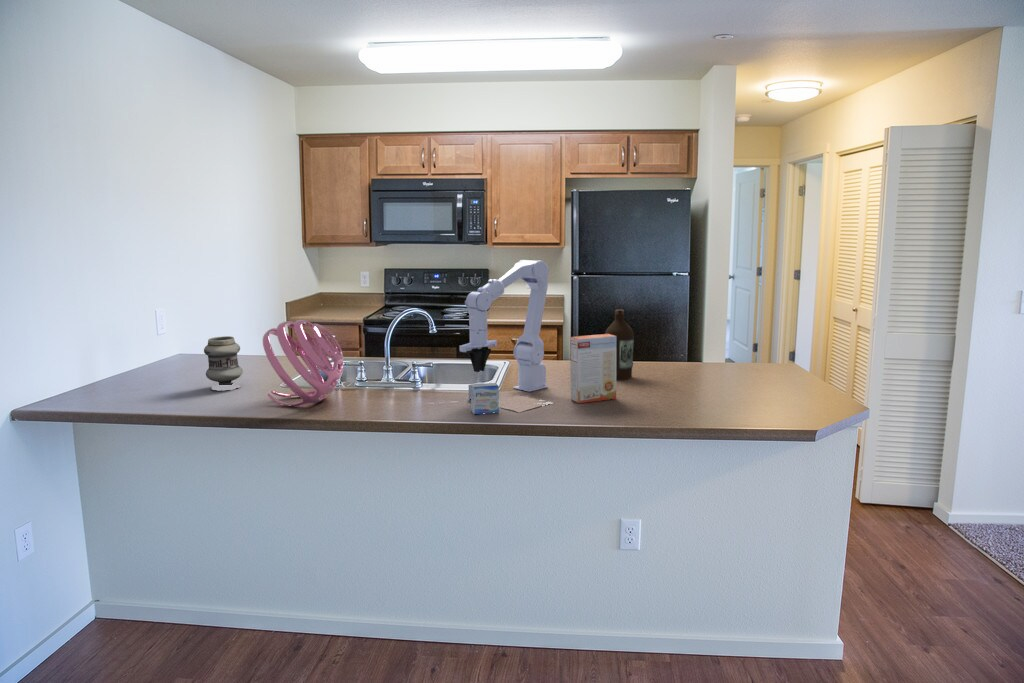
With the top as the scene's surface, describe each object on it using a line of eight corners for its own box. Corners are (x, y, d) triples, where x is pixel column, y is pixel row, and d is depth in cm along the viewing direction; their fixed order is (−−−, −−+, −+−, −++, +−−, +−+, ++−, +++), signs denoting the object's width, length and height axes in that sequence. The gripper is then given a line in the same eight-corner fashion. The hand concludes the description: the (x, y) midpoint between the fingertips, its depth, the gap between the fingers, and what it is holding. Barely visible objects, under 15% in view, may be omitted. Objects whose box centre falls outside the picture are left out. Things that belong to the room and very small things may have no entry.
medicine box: (473, 415, 213) (473, 387, 212) (470, 411, 217) (470, 383, 216) (499, 413, 215) (499, 385, 214) (495, 409, 220) (495, 382, 218)
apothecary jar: (199, 391, 247) (194, 339, 244) (223, 383, 259) (219, 334, 256) (227, 393, 244) (223, 341, 241) (251, 385, 255) (247, 336, 252)
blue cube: (480, 397, 236) (479, 382, 235) (490, 399, 232) (490, 384, 231) (468, 399, 232) (468, 384, 231) (479, 402, 229) (478, 387, 228)
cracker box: (607, 395, 236) (608, 333, 232) (616, 399, 230) (617, 335, 226) (569, 399, 231) (569, 335, 227) (577, 404, 225) (578, 338, 222)
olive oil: (598, 376, 263) (598, 309, 259) (618, 373, 270) (619, 307, 265) (618, 382, 255) (619, 312, 251) (639, 378, 261) (640, 310, 257)
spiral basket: (219, 348, 218) (291, 298, 216) (263, 353, 245) (327, 309, 244) (265, 425, 214) (338, 374, 212) (305, 422, 242) (370, 377, 240)
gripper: (469, 333, 220) (470, 376, 223) (503, 328, 230) (503, 369, 233) (454, 331, 225) (455, 373, 228) (488, 326, 235) (489, 366, 238)
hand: (479, 371), depth 230 cm, fingers closed
